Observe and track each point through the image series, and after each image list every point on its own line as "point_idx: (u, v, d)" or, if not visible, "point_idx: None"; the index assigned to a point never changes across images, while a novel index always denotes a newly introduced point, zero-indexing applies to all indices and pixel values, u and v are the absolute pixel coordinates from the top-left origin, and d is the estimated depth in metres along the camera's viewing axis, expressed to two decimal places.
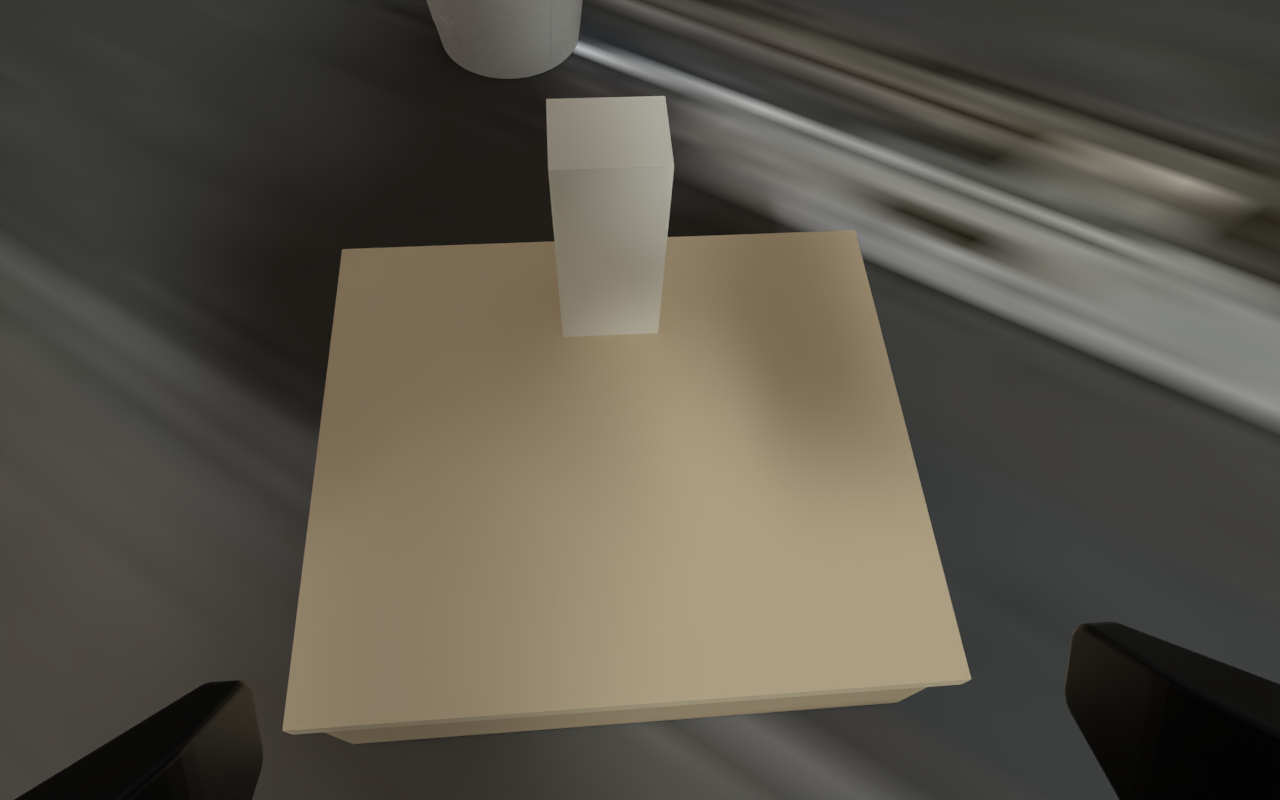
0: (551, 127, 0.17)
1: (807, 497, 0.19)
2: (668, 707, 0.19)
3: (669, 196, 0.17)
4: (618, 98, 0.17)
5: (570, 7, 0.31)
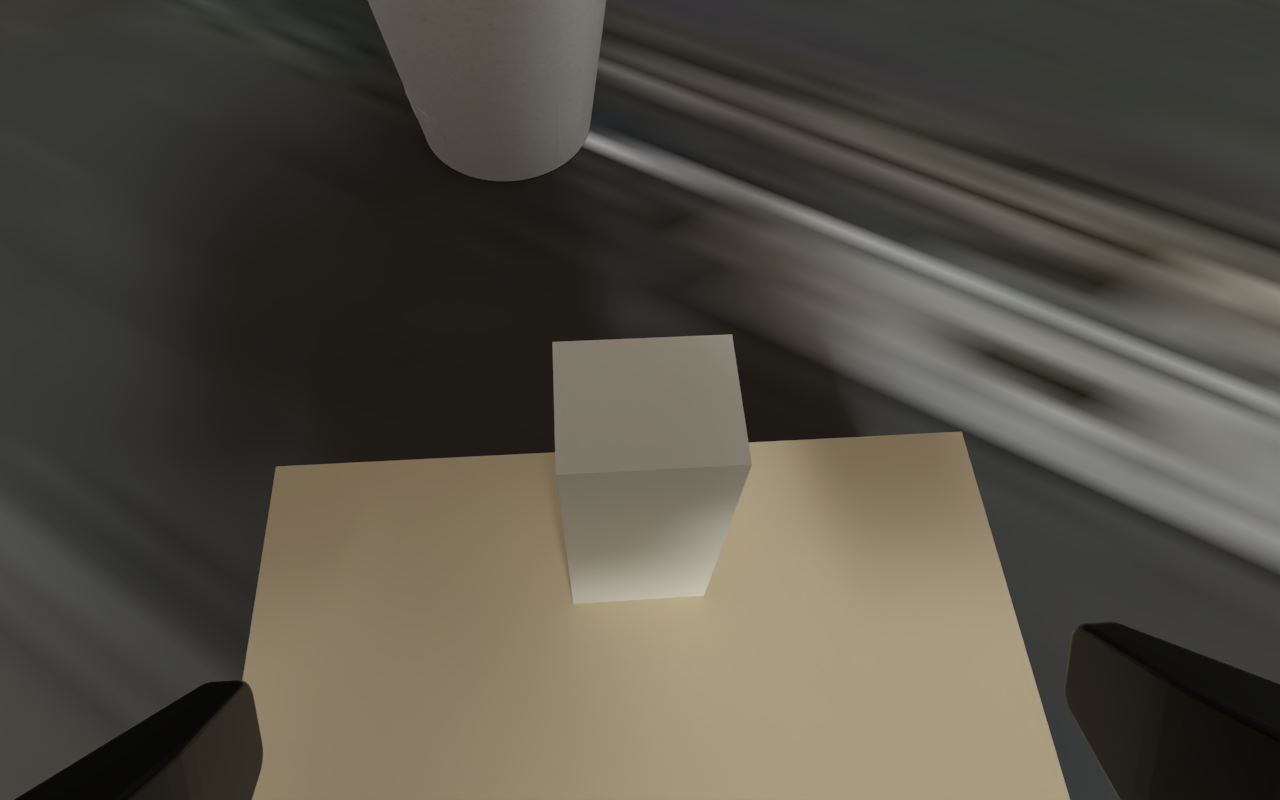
0: (560, 394, 0.11)
1: None
2: None
3: (739, 491, 0.11)
4: (662, 339, 0.11)
5: (580, 99, 0.25)
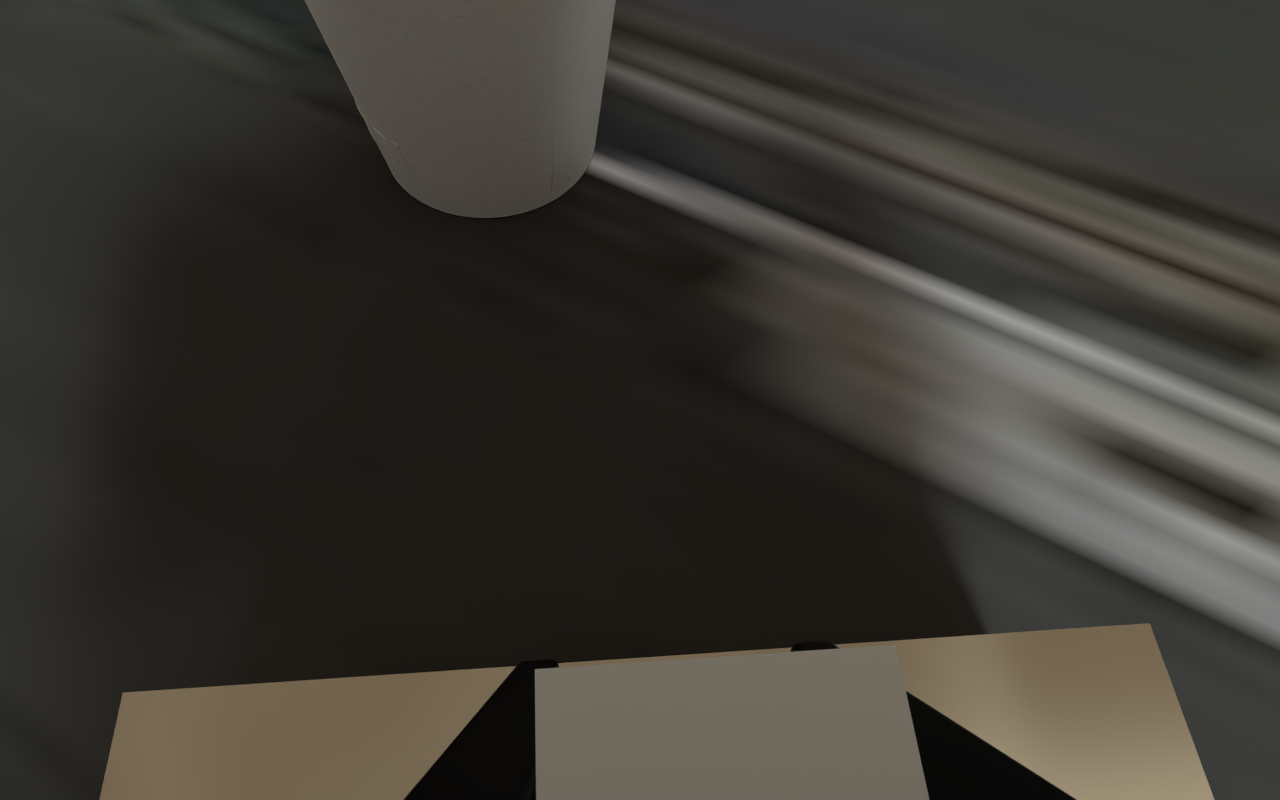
0: None
1: None
2: None
3: None
4: (756, 659, 0.06)
5: (584, 114, 0.19)
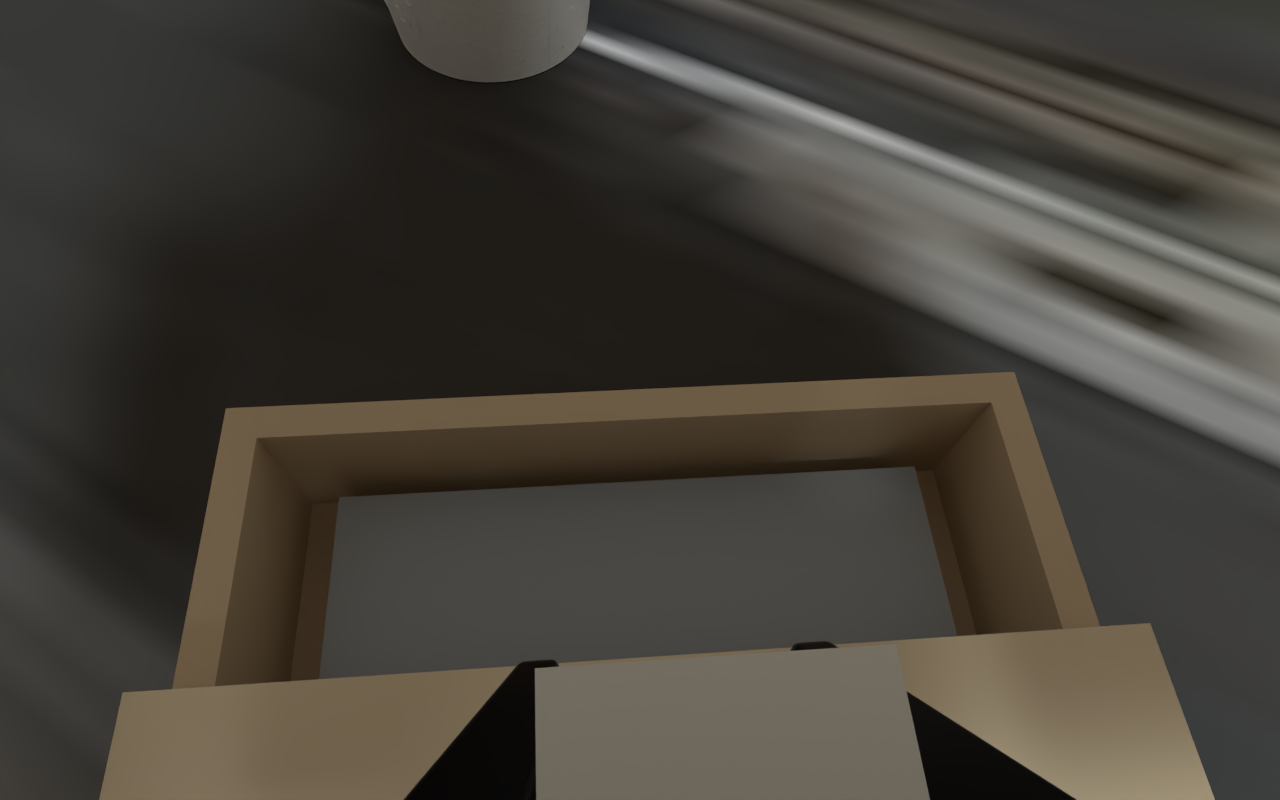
0: None
1: None
2: None
3: None
4: (756, 658, 0.06)
5: None
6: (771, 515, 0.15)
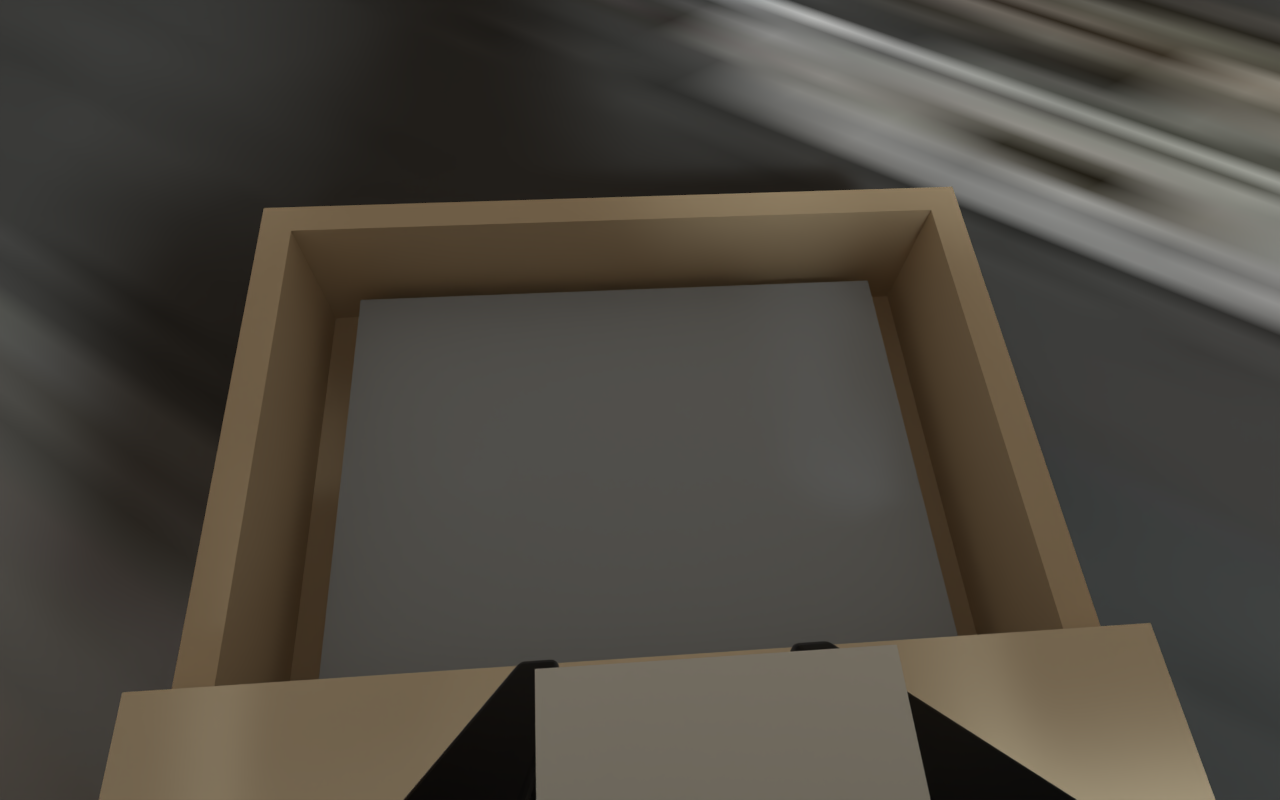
0: None
1: None
2: None
3: None
4: (756, 658, 0.06)
5: None
6: (740, 317, 0.18)
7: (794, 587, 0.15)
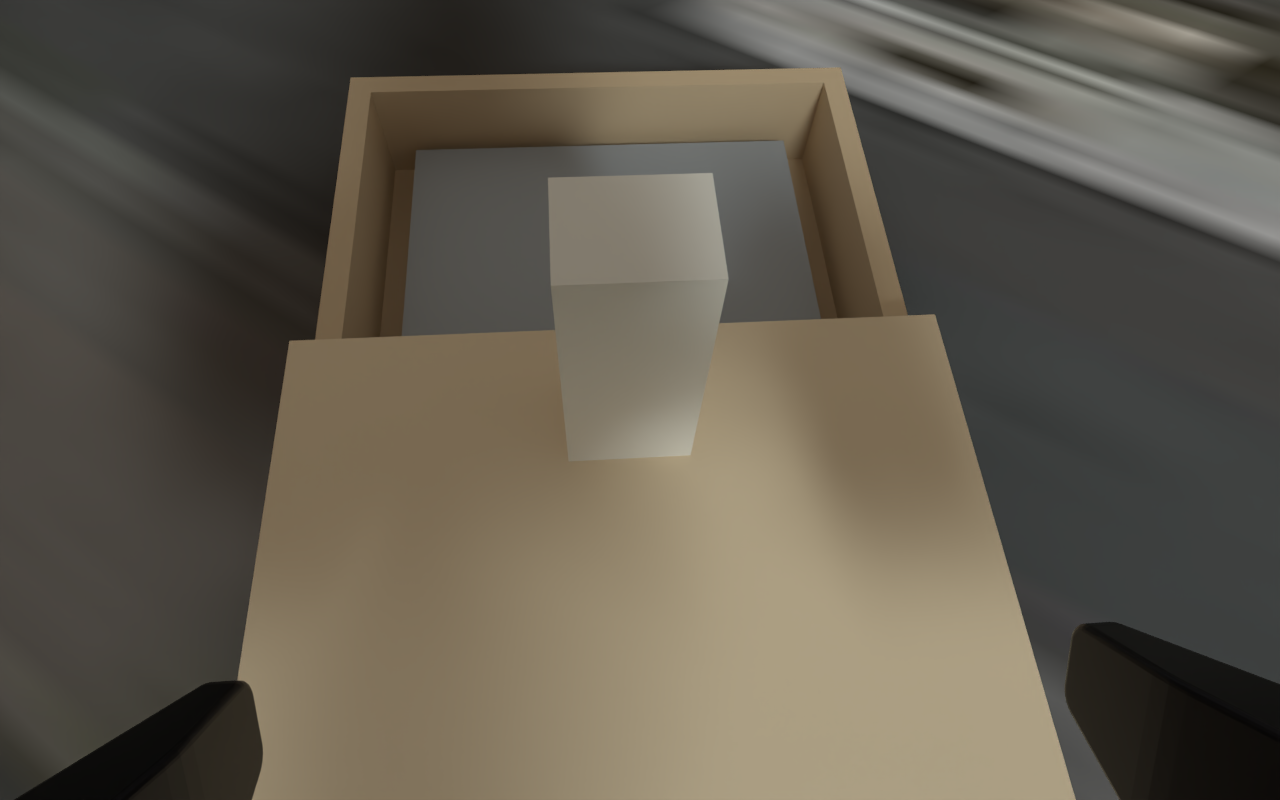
0: (555, 220, 0.12)
1: (891, 692, 0.15)
2: None
3: (718, 313, 0.12)
4: (648, 176, 0.12)
5: None
6: (689, 163, 0.24)
7: None
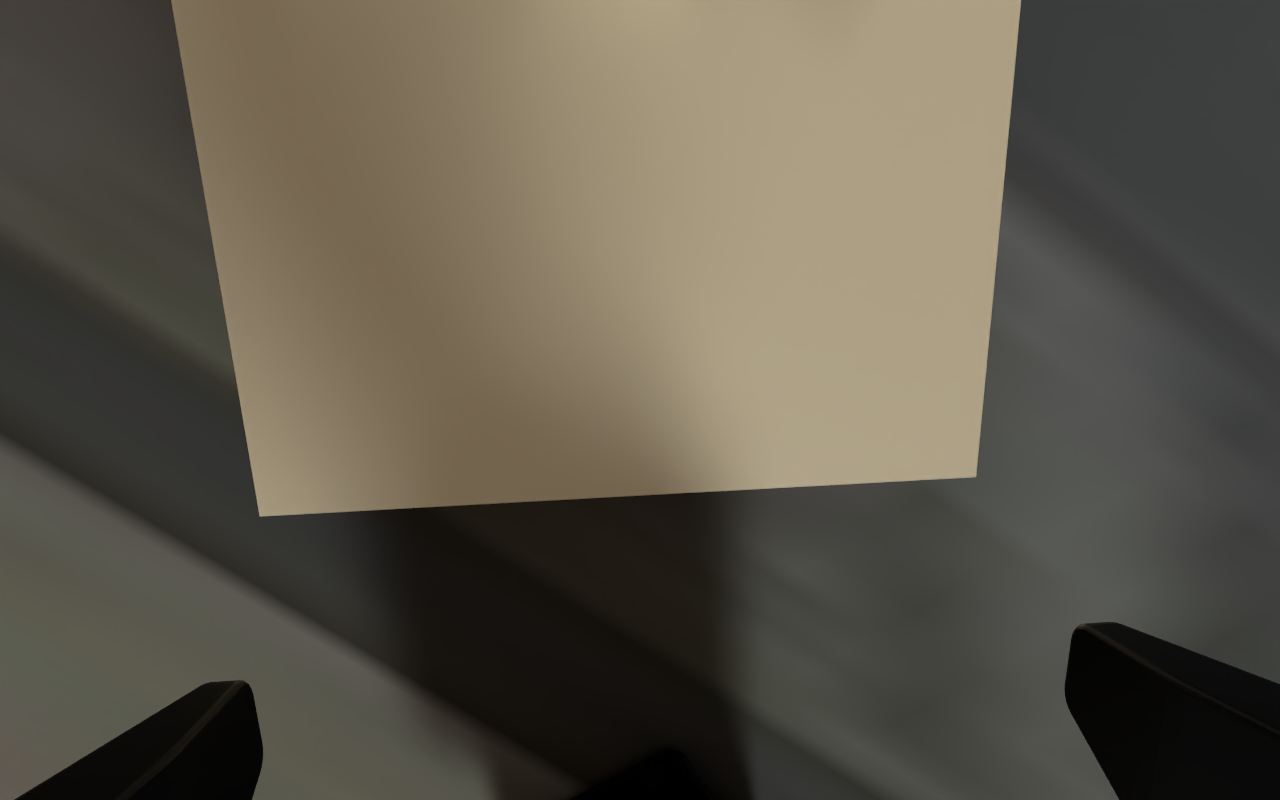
0: None
1: (852, 270, 0.16)
2: None
3: None
4: None
5: None
6: None
7: None
